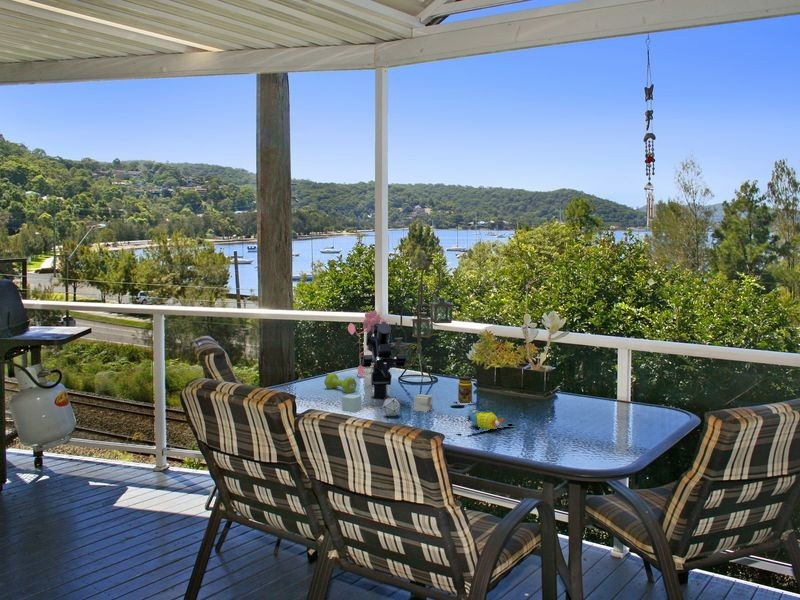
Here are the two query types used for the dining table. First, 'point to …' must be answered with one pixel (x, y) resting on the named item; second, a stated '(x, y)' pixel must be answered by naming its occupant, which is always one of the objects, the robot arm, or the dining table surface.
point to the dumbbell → (340, 383)
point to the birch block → (423, 403)
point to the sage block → (351, 403)
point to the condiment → (465, 389)
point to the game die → (391, 407)
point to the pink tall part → (368, 322)
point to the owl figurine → (484, 419)
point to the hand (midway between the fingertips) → (386, 376)
